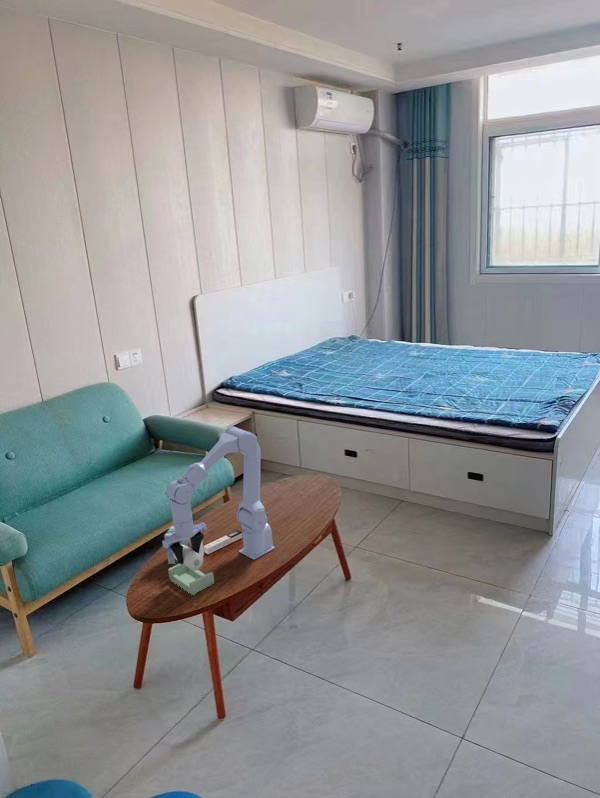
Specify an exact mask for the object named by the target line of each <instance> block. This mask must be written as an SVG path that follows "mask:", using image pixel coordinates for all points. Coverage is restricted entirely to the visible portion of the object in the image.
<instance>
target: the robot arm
mask: <svg viewBox="0 0 600 798" xmlns="http://www.w3.org/2000/svg"><path fill="white" fill-rule="evenodd" d="M261 451H262V450H261V447H260V444H259V442H258V436H257V435H256V434H254V433H252V432H250V431H246V430H244V429H241V428H238V427H236V426H235V425H234V426H229V427H227V428H226V429H225V431H224V432H222V433H221V434H220V437H219V439H218V441H217V442H216V443H215V444H214V445H213V447H212V448H211V449H210V450H209V451H208V453H207V454H206V455H205V456H204V457H203V458H202V460H201V461H200V462H194V463H193V464H190V465H189V466H188V469H187V470H185V471H184V472H183V474H181V475H180V476H179V477H177V480H172V481H171V482H170V483H169V484H168V485H167V487H166V491H165V497H167V498H168V499H169V502H170V508H171V515H172V521H173V526H174V529H175V533H173V534H172V535H171V536H169V537H168V538H167V539H165V538H164V540H162V547H163V548H165V549H167V548H169V547H170V548H171V549H172V551H173V552H174V554H175V556H176V558H177V560H178V563H180V564H184V563H183V562H184V560H183V546H182V545H180V543H179V541H182V540H185V539H189V538H190V540H191V544H192V550H193V551H195V552H197V553H198V554H199V550H200V545H201V542H203V540H204V537H205V536H204V535H205V534H203V532H205V531H207V530H208V528H207V524H206V523H204V522H200V523H197V524H194V521H193V513H192V506H191V500H192V498H193V495H194V494H193V493H194V492H195V490H196V489H197V488H198V487H199V486H200V485H201V483H203V481H205V479H206V478H207V477H208V475H209V472H208V471H209V470H210V469H211V468H213V466H214V465H216V464H217V463H218V462H219V461H220V460H221V459H222V458H224V456H226V455H227V454H237V453H239V452H240V453H241V454H242V455H243V482H242V483H243V485H242V486H243V488H242V489H243V490H242V491H243V494H242V495H243V496H242V497H243V498H242V500H241V501H240V502H239V503H238V510H237V512H236V520H237V521H238V523H240V526H241V531H242V539H243V540H242V541H243V548H241V549H238V550H239V551H238V552H239V553H240V554H242V555H245V556H246V557H247V558H250V559H252V560H256V559H258V558H259V557H261V556H264V555H265V554H267V553H269V552H271V551H272V550H274V549H275V548H276V547H275V545H274V543H273V531H272V528H271V526H270V524H269V523H268V517H267V515H266V509H265V506H264V505H263V503H262V501H261V463H262V460H261V458H262V457H261V455H262V454H261V453H262V452H261ZM202 531H203V532H202Z"/></svg>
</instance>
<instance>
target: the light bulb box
mask: <svg viewBox="0 0 600 798" xmlns="http://www.w3.org/2000/svg"><path fill="white" fill-rule="evenodd" d="M173 533H175V529H174V525H171V526H170V527H169V529H168V530H167V532H166V533H165V534H164V540H165V539H167V538H168V537H169V536H171V535H172V534H173ZM179 543H180V545H185V546H187V547H188V548H190V549H192V544H191V540H190V538H189V539H185V540H182V541H179ZM203 543H204V542H203V541H202V542H201V545H200V550H199V554H200V555H202V557H203V558H204V555H205V551H204V544H203ZM165 549H166V548H165ZM173 553H174V552H173V551H172V549H171V548H170V547H169V548H167V549H166V555H167V563H168V565H177V564H179V563H178V561H177V560H176V559H175V558H174V556H173Z"/></svg>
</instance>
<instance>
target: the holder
mask: <svg viewBox="0 0 600 798" xmlns="http://www.w3.org/2000/svg"><path fill="white" fill-rule="evenodd" d="M167 570H168V577H169V581H170V580H171V581H170V582H172V583H173V582H174V583H173V584H175V585H176V584H177V585H178V587H179V586H180V587H181V588H180V587H179V588H180V589H182V588H183V589H184V590H183V589H182V590H183V591H185V590H186V591H187V592H188V594H189V593H190V594H191V595H190V594H189V595H190V596H192V595H194V594H196V593H197V592H199V591H201V590H203V589H205V588H207V587H208V586H210V585H212V584H214V585H215V578H214V577H215V575H214V572H212V571H210V572H208V573H206V574H205V573H204V572H202V571H201V570H200V569H198V570H195V571H194V570H191V569H190V568H188V567H187V566H185V565H184V564H180V563H179V564H174V566H172V567H169V568H168V569H167ZM177 585H176V586H177ZM212 586H213V585H212ZM207 589H208V588H207ZM205 590H206V589H205ZM186 591H185V592H186ZM203 591H204V590H203ZM187 592H186V593H187ZM201 592H202V591H201ZM196 595H197V594H196ZM194 596H195V595H194Z"/></svg>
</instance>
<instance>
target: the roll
mask: <svg viewBox="0 0 600 798" xmlns="http://www.w3.org/2000/svg"><path fill="white" fill-rule="evenodd" d="M182 546H183V560H184V562H183V563H184V565H185V566H187V567H188V568H190V569H191V570H194V571H195V570H200V568H202V566H203V563H204V556H203V557H202V555H200V554H198V553H197V552H195V551H193V550H192V549H190V548H188V547H187V546H185V545H182ZM173 556H174V558H175V559H176V560H177V558H176V556H175V554H174V553H173ZM177 561H178V560H177Z"/></svg>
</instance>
